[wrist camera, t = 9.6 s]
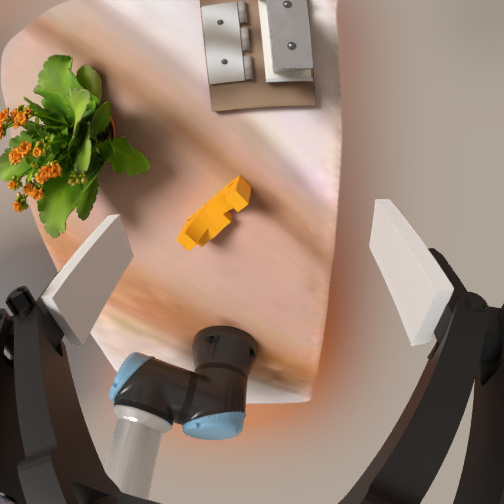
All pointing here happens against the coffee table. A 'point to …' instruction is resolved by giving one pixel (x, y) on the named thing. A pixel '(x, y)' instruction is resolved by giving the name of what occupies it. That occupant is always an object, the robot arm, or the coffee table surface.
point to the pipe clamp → (215, 214)
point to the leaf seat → (269, 73)
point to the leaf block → (289, 35)
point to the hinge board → (243, 60)
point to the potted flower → (64, 144)
